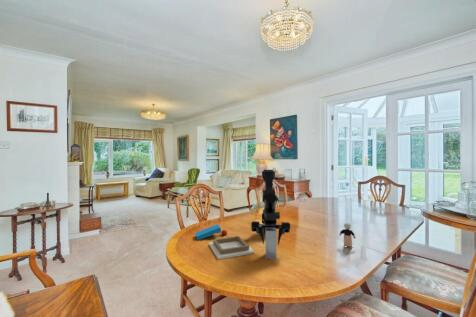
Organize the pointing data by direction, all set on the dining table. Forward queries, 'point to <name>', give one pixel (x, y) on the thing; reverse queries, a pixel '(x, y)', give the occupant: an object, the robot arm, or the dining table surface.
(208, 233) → the lever
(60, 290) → the dining table surface
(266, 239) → the brushed metal pillar
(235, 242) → the stand
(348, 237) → the grandmother figurine
